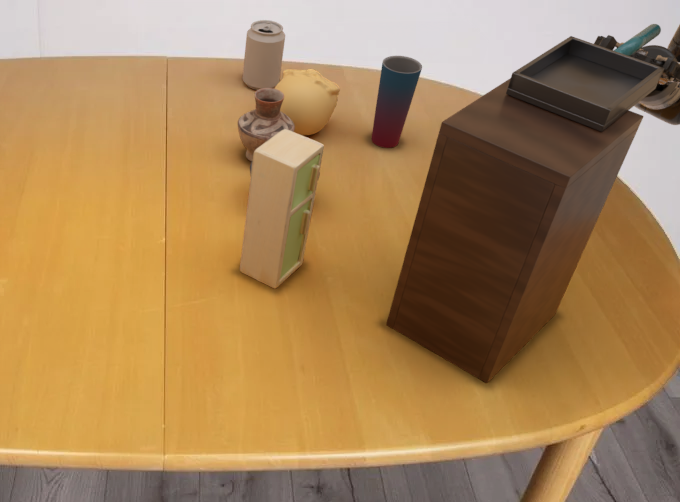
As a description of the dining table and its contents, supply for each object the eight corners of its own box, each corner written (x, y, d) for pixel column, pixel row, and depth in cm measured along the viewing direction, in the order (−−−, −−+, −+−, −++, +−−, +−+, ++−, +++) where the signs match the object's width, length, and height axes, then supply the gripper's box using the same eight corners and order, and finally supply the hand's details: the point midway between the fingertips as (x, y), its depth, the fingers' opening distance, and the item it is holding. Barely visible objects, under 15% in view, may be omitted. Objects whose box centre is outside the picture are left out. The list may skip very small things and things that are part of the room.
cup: (398, 154, 158) (417, 76, 148) (361, 144, 160) (378, 67, 150) (407, 137, 163) (426, 61, 153) (371, 128, 165) (388, 52, 155)
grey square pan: (601, 132, 102) (610, 110, 100) (505, 93, 108) (512, 72, 106) (695, 56, 118) (705, 36, 116) (607, 27, 124) (615, 7, 122)
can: (237, 88, 174) (243, 29, 166) (247, 72, 179) (253, 15, 171) (274, 95, 173) (281, 36, 165) (282, 79, 178) (290, 21, 170)
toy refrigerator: (279, 292, 128) (299, 169, 114) (238, 272, 131) (252, 149, 117) (307, 266, 133) (329, 145, 118) (267, 247, 136) (284, 126, 121)
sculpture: (340, 125, 165) (351, 71, 158) (308, 150, 158) (317, 95, 151) (289, 105, 170) (296, 52, 163) (255, 128, 163) (261, 74, 155)
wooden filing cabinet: (486, 383, 116) (570, 177, 94) (385, 324, 124) (441, 121, 102) (555, 314, 127) (644, 115, 105) (458, 264, 135) (522, 70, 113)
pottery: (285, 140, 160) (293, 80, 152) (322, 220, 142) (333, 156, 134) (224, 143, 158) (230, 82, 150) (254, 224, 140) (262, 159, 132)
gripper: (620, 37, 134) (601, 9, 121) (714, 69, 127) (705, 44, 114) (594, 83, 137) (572, 61, 123) (685, 118, 130) (672, 98, 117)
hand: (636, 53), depth 119 cm, fingers open, 8 cm apart
